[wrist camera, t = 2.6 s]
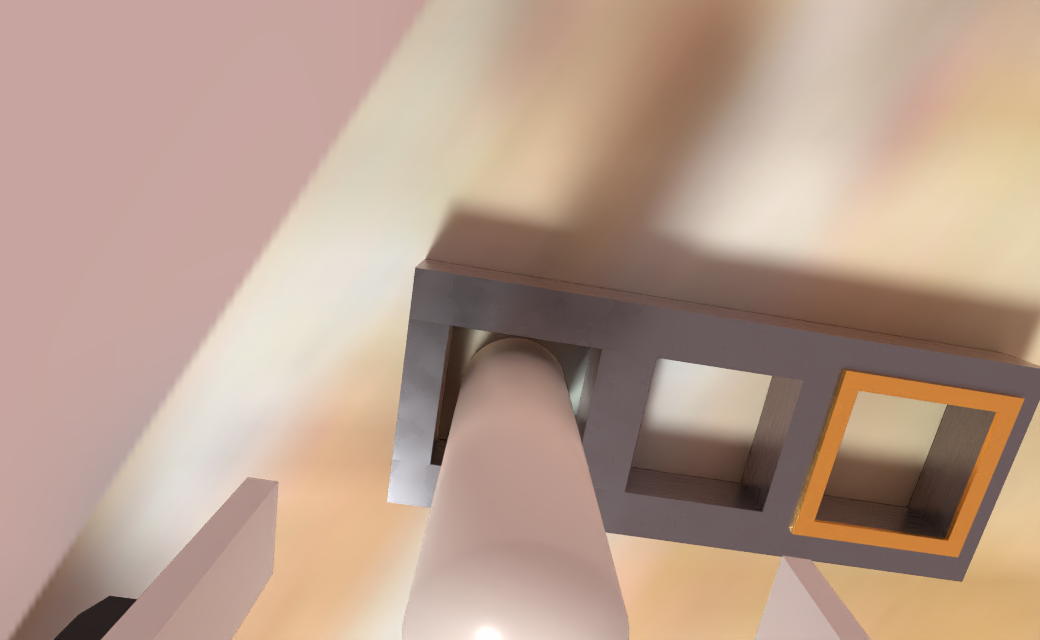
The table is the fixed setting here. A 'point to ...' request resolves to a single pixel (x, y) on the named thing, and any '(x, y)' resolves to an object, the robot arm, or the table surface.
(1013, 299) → the table surface
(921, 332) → the table surface
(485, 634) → the pin
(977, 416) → the rail
